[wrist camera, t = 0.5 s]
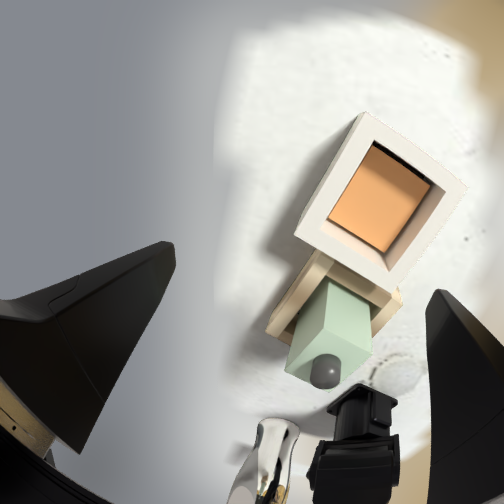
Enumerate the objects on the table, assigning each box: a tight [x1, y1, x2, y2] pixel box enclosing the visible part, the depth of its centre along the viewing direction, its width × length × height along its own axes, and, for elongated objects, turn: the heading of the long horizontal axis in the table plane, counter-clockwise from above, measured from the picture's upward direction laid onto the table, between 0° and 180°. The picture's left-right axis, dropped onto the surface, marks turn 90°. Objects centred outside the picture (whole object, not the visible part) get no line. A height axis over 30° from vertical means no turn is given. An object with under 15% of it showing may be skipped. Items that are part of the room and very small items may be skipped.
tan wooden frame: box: [265, 248, 403, 346], centre depth 24 cm, size 9×8×3 cm
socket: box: [294, 111, 469, 294], centre depth 19 cm, size 9×8×5 cm
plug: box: [284, 275, 373, 392], centre depth 22 cm, size 5×4×10 cm
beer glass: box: [227, 418, 300, 504], centre depth 30 cm, size 7×7×15 cm
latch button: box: [328, 145, 430, 253], centre depth 19 cm, size 6×5×1 cm
